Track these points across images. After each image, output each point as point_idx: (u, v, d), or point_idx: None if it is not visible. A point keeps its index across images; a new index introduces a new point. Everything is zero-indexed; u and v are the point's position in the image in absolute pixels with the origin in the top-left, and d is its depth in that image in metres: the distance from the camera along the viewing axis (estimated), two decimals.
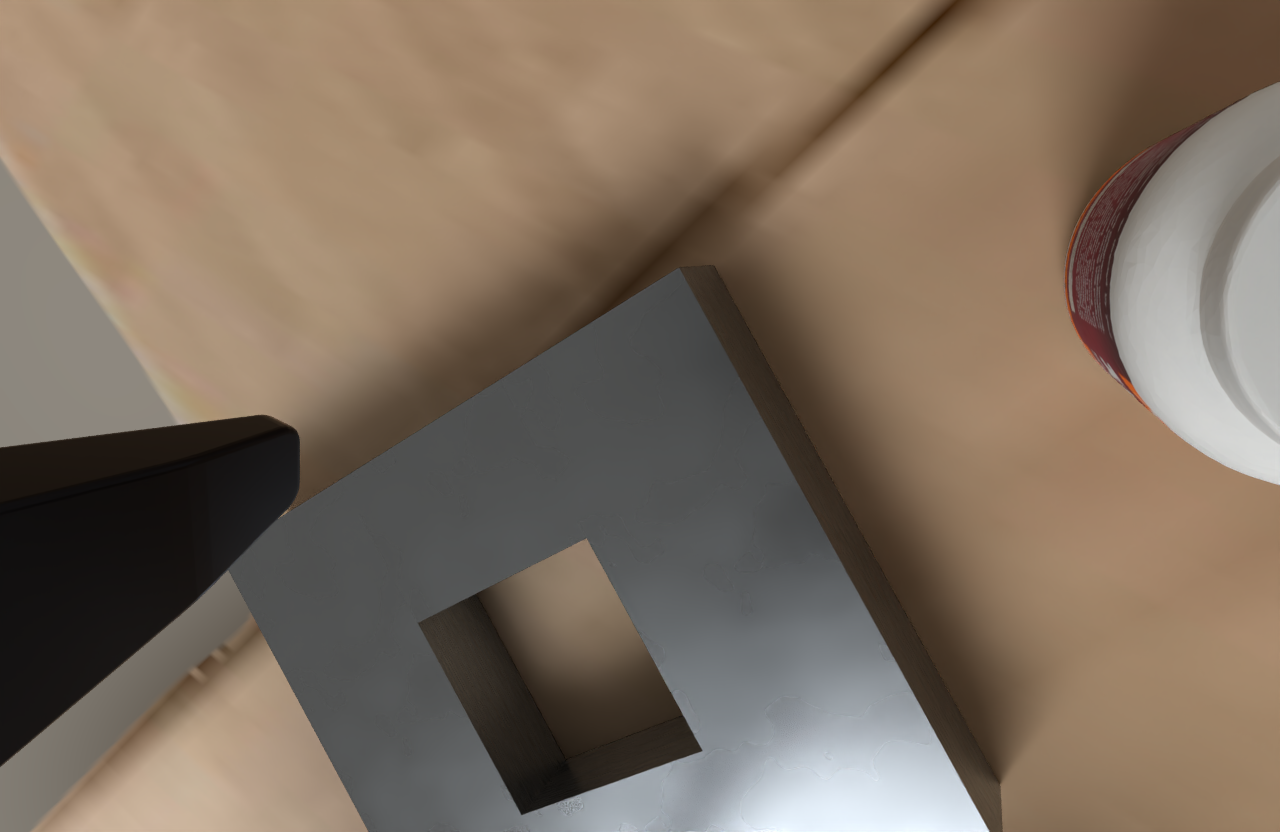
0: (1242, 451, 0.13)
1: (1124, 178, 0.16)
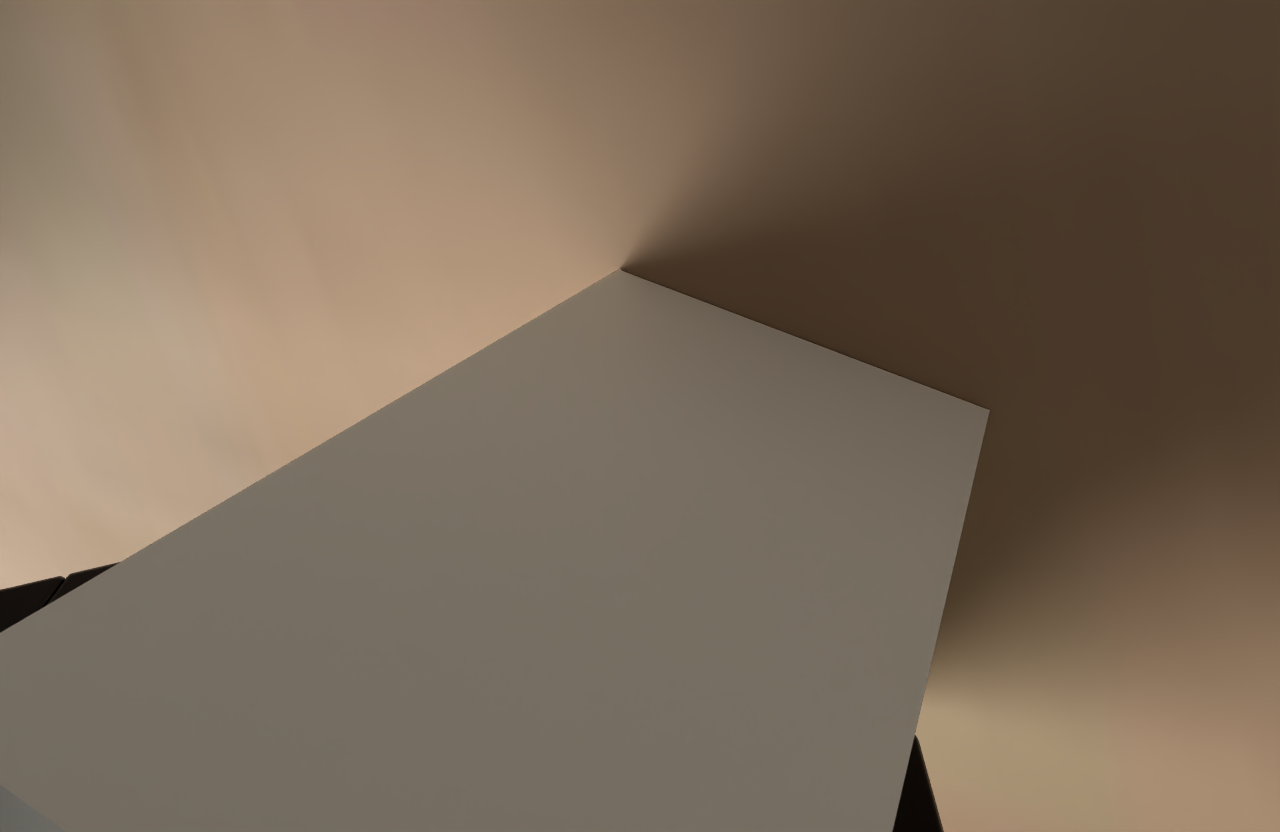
0: None
1: None
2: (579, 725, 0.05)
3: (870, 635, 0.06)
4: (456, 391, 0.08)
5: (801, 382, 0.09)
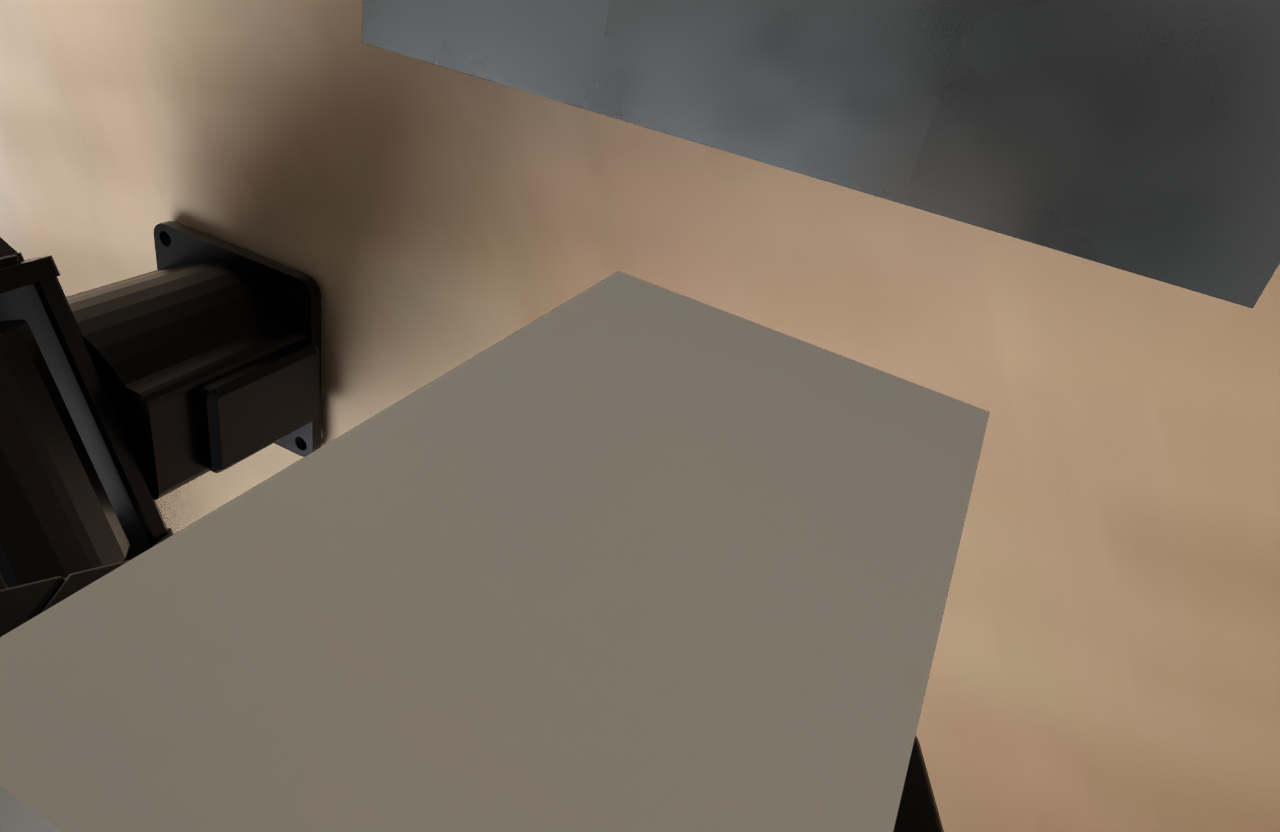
0: None
1: None
2: (581, 728, 0.05)
3: (871, 637, 0.06)
4: (457, 393, 0.08)
5: (801, 384, 0.09)
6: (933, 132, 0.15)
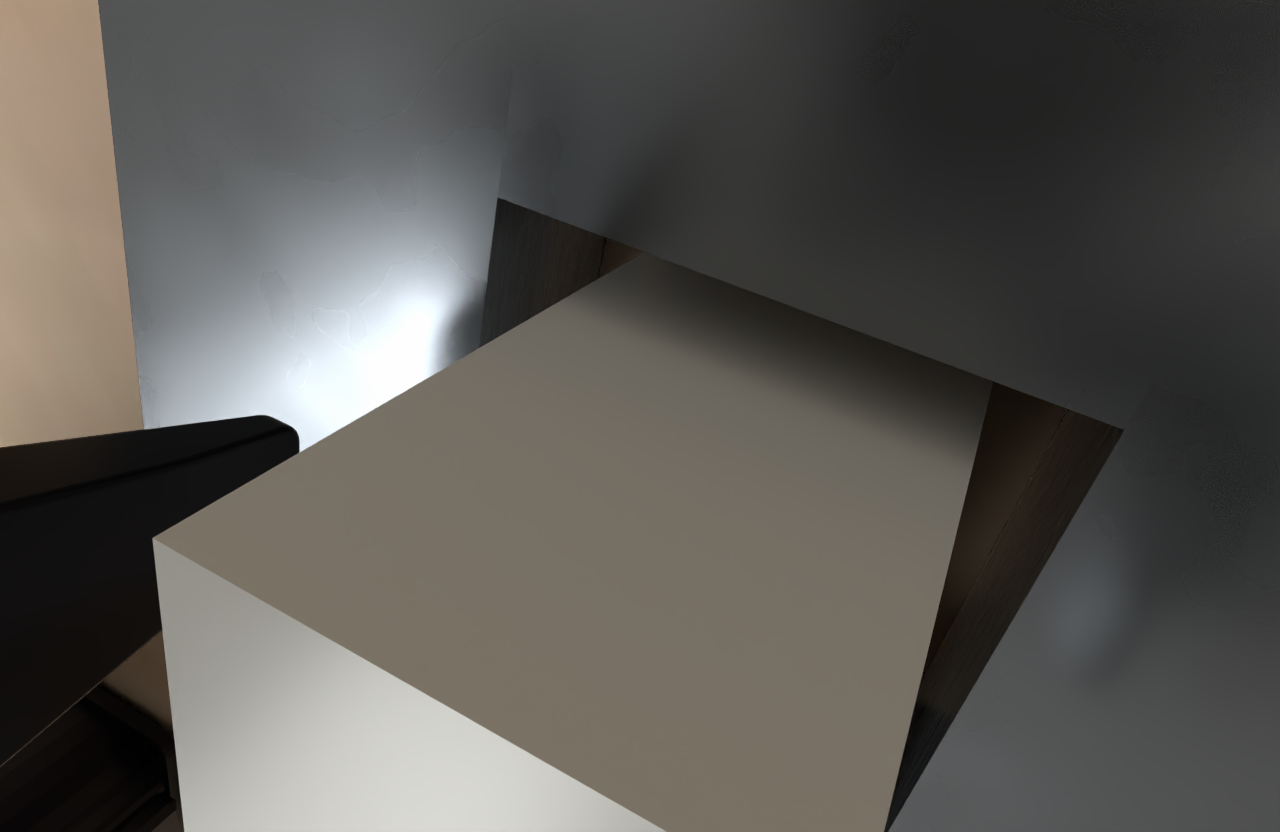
0: None
1: None
2: (675, 576, 0.06)
3: (903, 525, 0.07)
4: (541, 334, 0.09)
5: (832, 335, 0.10)
6: None
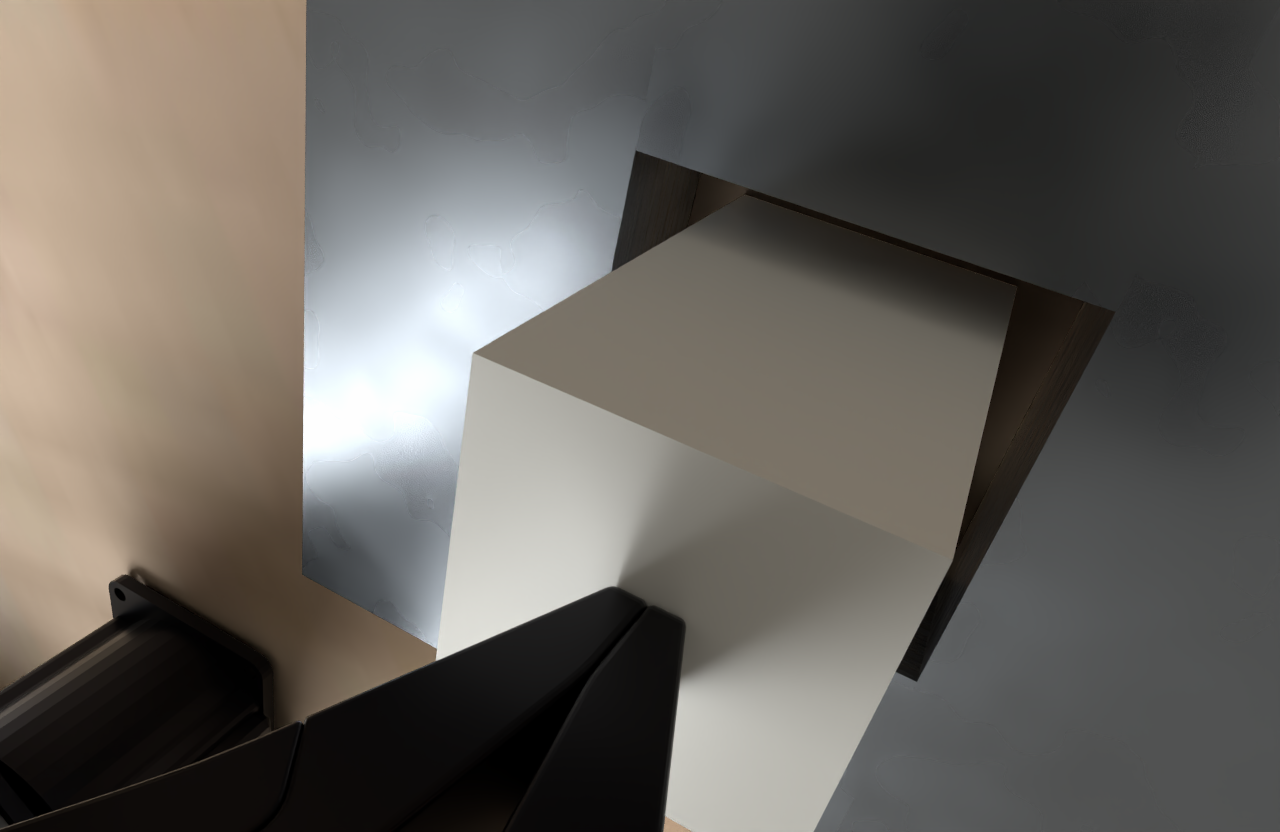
0: None
1: None
2: (807, 394, 0.09)
3: (956, 377, 0.10)
4: (673, 253, 0.12)
5: (887, 263, 0.13)
6: (849, 820, 0.15)
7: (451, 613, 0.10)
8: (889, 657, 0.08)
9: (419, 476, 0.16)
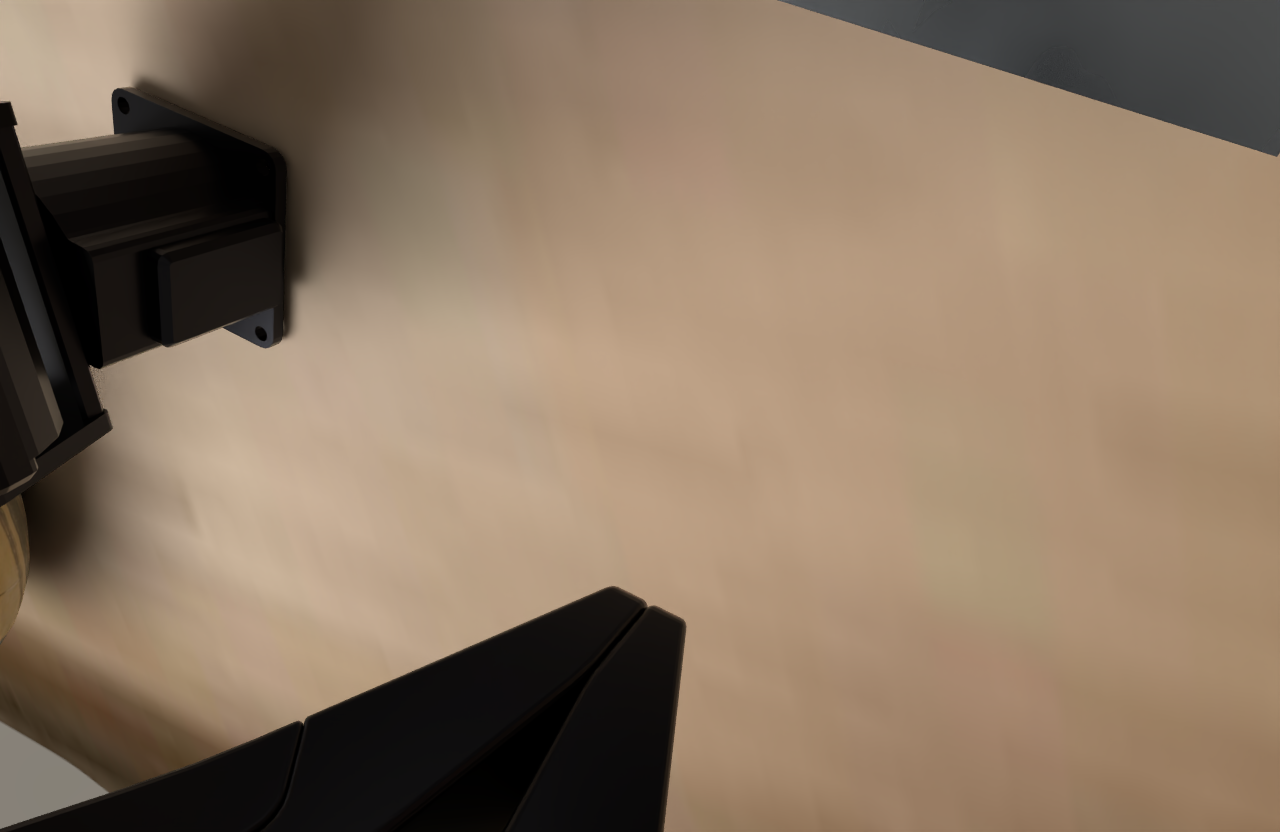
0: None
1: None
2: None
3: None
4: None
5: None
6: None
7: None
8: None
9: None
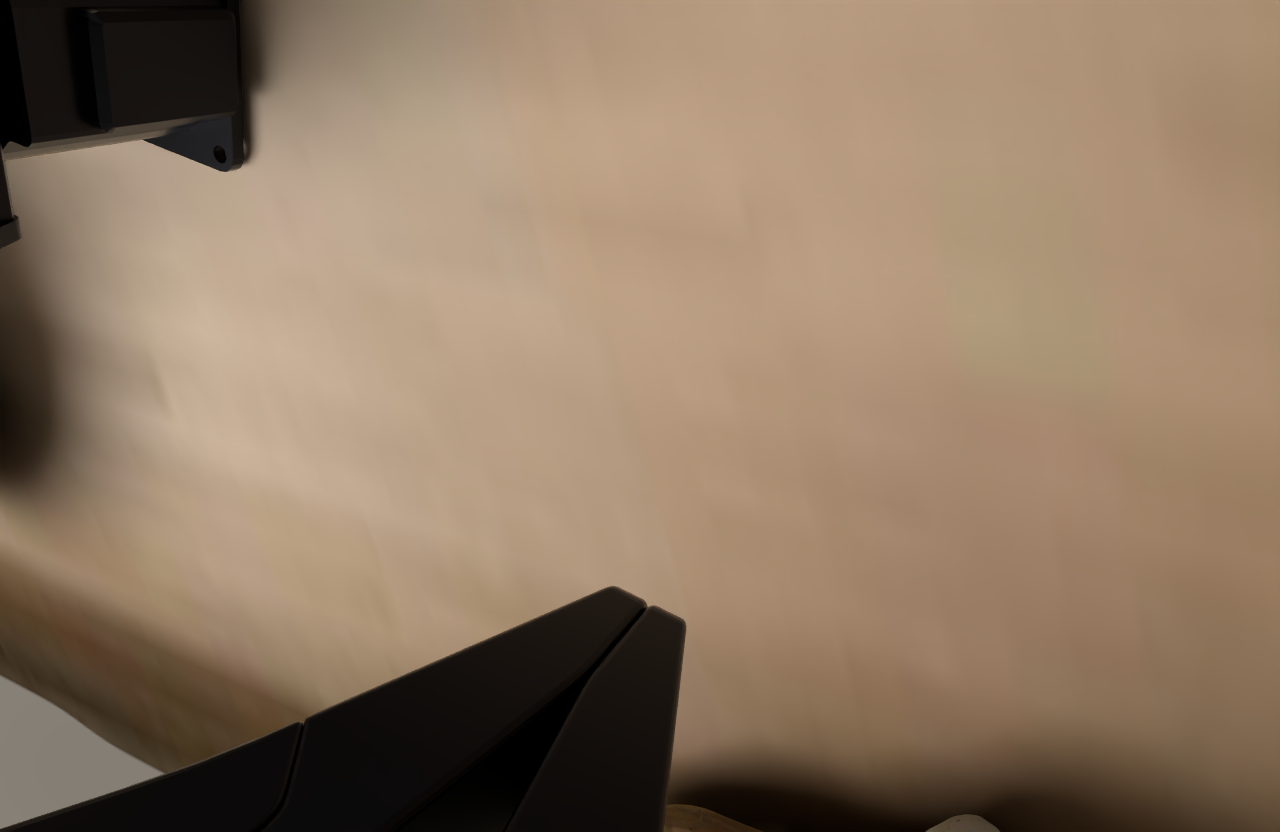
0: None
1: None
2: None
3: None
4: None
5: None
6: None
7: None
8: None
9: None
